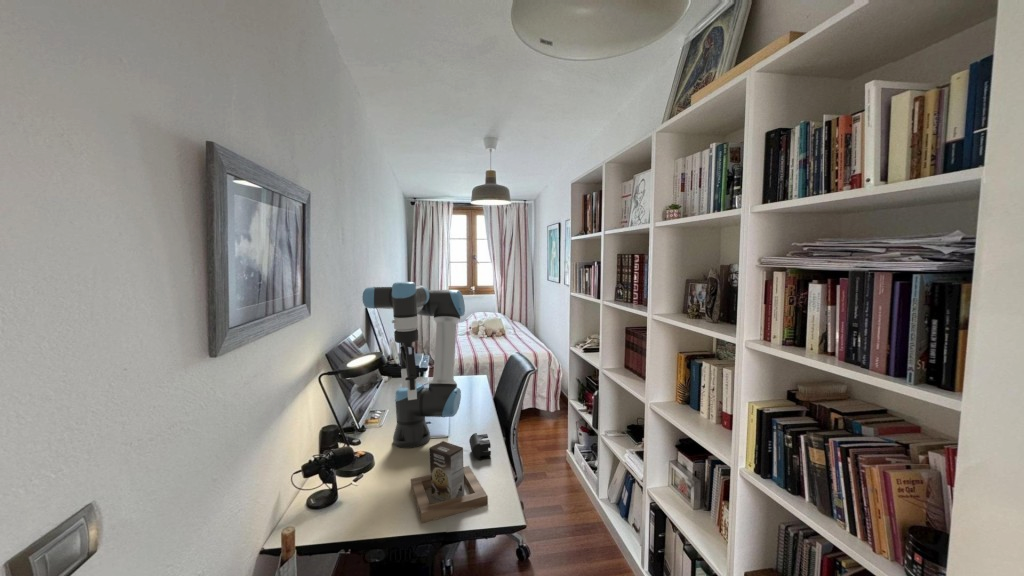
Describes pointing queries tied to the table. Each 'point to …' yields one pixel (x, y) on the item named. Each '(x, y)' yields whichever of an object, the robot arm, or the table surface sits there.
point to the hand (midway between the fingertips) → (409, 393)
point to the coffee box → (446, 471)
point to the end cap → (480, 446)
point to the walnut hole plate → (449, 506)
